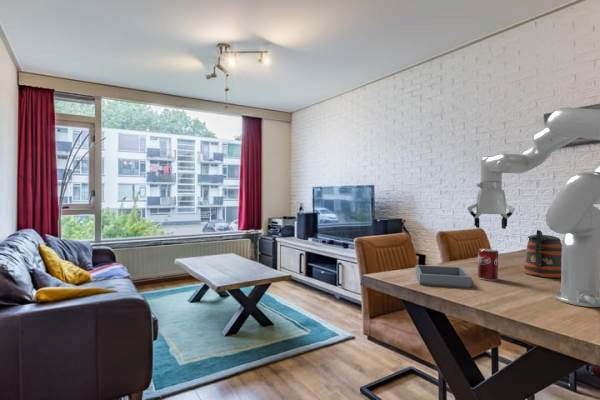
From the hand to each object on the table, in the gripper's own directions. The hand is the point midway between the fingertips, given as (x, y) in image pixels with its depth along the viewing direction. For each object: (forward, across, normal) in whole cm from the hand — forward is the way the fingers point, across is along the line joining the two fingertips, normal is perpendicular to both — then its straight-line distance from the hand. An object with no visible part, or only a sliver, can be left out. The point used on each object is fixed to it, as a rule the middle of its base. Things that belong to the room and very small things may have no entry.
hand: (490, 228), depth 138 cm
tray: (+21, -20, -10) cm, 30 cm away
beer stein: (+21, +24, +12) cm, 34 cm away
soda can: (+21, -1, -1) cm, 21 cm away
